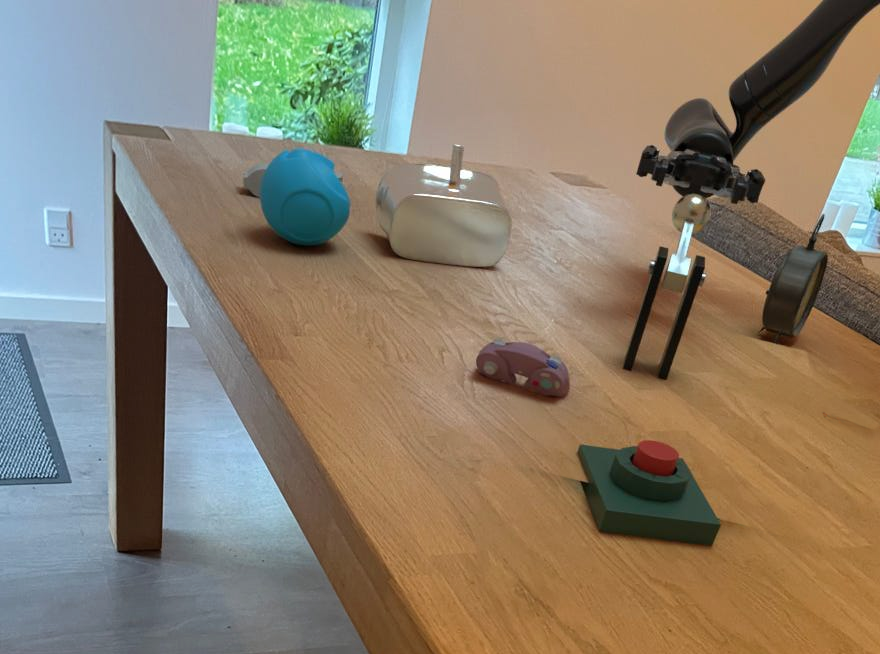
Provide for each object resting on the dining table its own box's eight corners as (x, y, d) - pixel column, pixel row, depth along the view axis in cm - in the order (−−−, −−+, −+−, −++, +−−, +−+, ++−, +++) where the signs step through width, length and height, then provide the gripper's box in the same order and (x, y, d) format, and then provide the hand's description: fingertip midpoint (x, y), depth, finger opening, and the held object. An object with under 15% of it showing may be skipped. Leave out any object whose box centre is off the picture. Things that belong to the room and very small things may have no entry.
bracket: (607, 352, 118) (643, 233, 110) (681, 371, 117) (723, 252, 109) (598, 387, 108) (637, 260, 100) (679, 408, 107) (724, 281, 99)
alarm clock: (781, 355, 128) (834, 225, 119) (742, 341, 130) (791, 213, 120) (802, 337, 136) (853, 214, 126) (764, 324, 138) (812, 202, 128)
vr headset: (490, 248, 146) (513, 142, 137) (508, 274, 137) (534, 162, 128) (370, 232, 142) (386, 122, 133) (381, 257, 133) (399, 141, 124)
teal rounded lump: (359, 256, 132) (372, 163, 125) (287, 260, 126) (296, 162, 119) (311, 227, 139) (320, 138, 132) (240, 230, 133) (246, 136, 126)
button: (627, 455, 86) (633, 437, 85) (666, 461, 87) (673, 443, 86) (637, 475, 84) (643, 456, 83) (677, 480, 84) (684, 462, 83)
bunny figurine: (243, 155, 150) (342, 157, 151) (245, 191, 153) (341, 193, 154) (242, 170, 142) (346, 172, 144) (244, 207, 145) (345, 209, 147)
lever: (670, 213, 113) (681, 181, 109) (706, 222, 113) (718, 190, 109) (649, 292, 107) (660, 261, 103) (687, 302, 106) (699, 271, 103)
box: (573, 465, 92) (584, 425, 89) (675, 478, 93) (689, 440, 90) (598, 532, 82) (612, 490, 80) (712, 546, 83) (729, 505, 81)
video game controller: (468, 396, 104) (471, 348, 98) (484, 366, 106) (488, 317, 100) (557, 424, 102) (566, 377, 96) (571, 393, 104) (581, 345, 98)
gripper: (653, 114, 121) (647, 133, 108) (769, 140, 119) (776, 163, 106) (635, 179, 125) (626, 205, 112) (746, 205, 124) (750, 235, 111)
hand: (699, 185), depth 109 cm, fingers open, 8 cm apart
